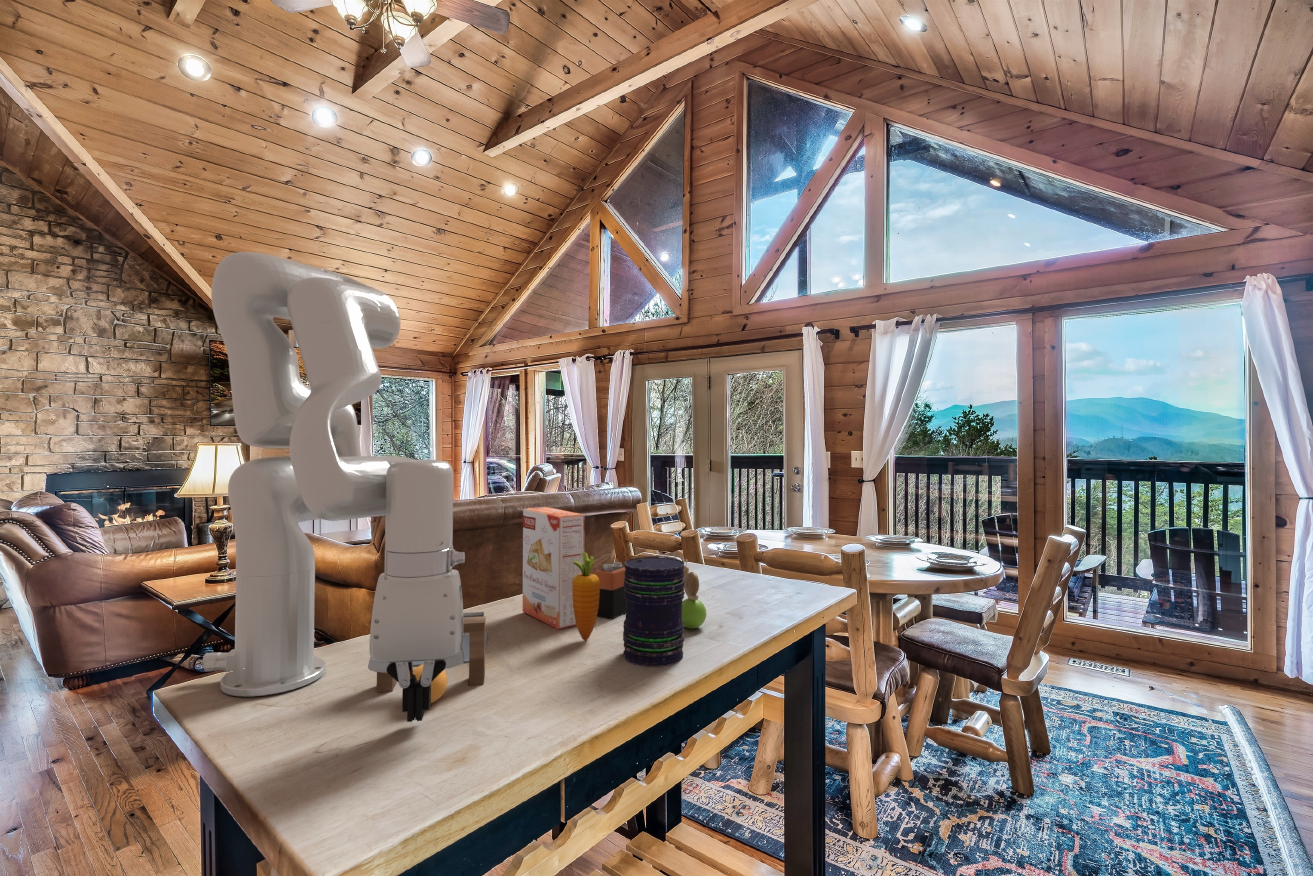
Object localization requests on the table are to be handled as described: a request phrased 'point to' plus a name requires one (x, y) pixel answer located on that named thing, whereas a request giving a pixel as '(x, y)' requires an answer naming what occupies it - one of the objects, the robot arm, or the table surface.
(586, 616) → the carrot
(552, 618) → the cracker box
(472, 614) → the wall
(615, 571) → the battery
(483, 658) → the bridge
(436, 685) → the ball
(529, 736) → the table surface
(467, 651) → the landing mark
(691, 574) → the snail figurine
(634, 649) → the dark blue cylinder
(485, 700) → the table surface
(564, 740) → the table surface
